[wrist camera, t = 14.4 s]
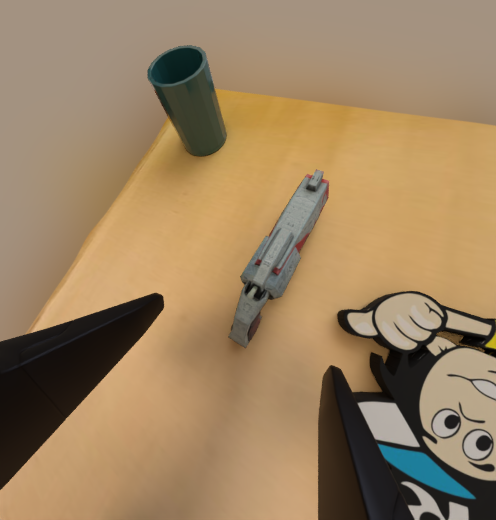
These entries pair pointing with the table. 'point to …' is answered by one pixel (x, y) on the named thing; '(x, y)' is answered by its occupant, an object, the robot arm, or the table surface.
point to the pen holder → (189, 98)
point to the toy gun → (278, 255)
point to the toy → (432, 403)
